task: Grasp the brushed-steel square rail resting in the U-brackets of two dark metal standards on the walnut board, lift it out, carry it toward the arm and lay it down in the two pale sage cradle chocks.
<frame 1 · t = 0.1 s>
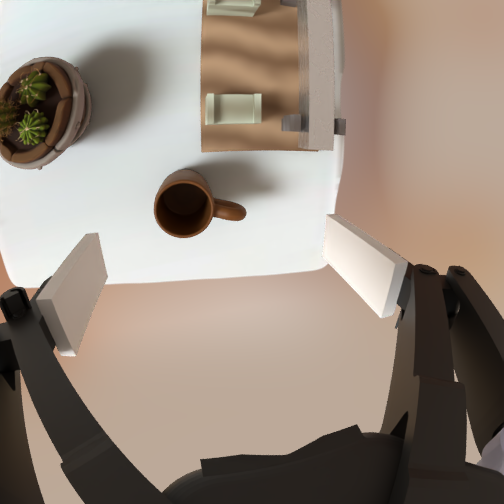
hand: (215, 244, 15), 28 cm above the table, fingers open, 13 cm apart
flowerpot: (62, 113, 31), on the table
rail: (310, 45, 27), point 9 cm above the table, touching rack
rack: (261, 57, 34), on the table
mug: (198, 194, 42), on the table
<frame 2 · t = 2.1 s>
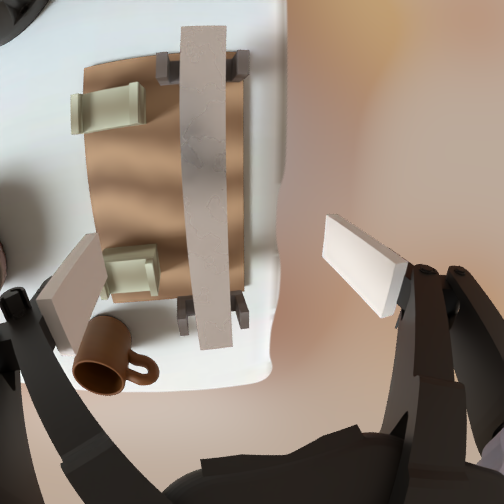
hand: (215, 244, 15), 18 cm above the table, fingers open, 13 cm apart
rail: (203, 198, 23), point 9 cm above the table, touching rack
rack: (164, 182, 30), on the table
mug: (122, 334, 38), on the table
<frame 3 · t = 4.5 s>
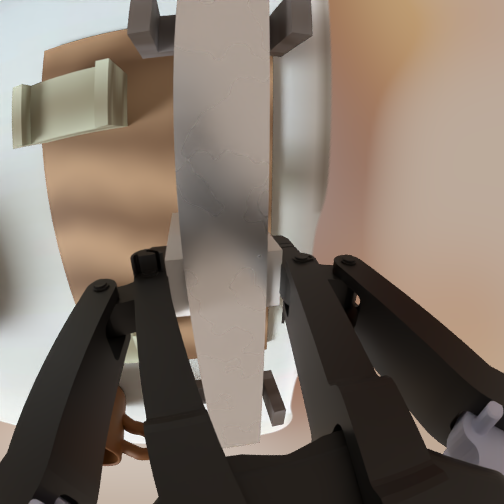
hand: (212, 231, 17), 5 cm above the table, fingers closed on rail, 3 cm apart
rail: (218, 256, 14), point 9 cm above the table, touching gripper, rack
rack: (156, 212, 21), on the table
mug: (114, 391, 29), on the table
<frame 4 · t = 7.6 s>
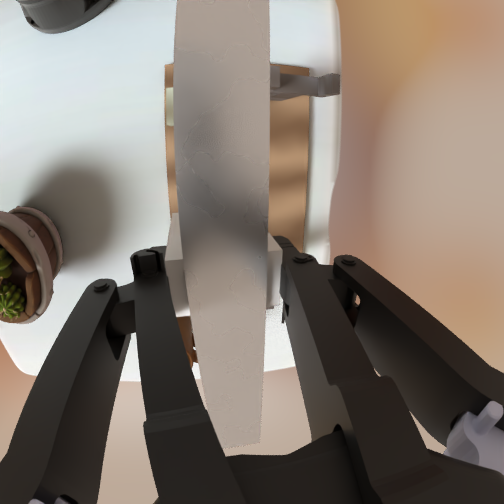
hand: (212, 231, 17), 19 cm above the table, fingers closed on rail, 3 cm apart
flowerpot: (35, 241, 32), on the table
rail: (218, 257, 14), point 23 cm above the table, touching gripper
rack: (238, 176, 35), on the table
mug: (180, 320, 43), on the table
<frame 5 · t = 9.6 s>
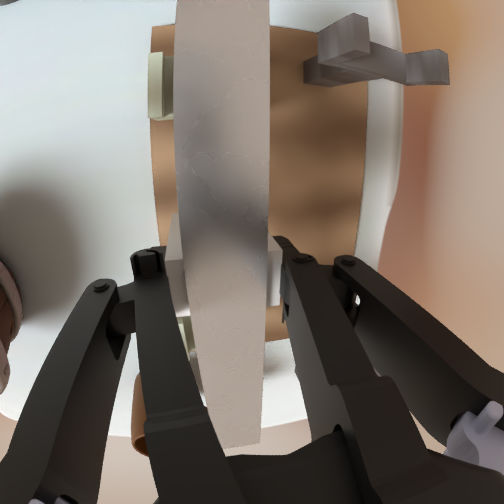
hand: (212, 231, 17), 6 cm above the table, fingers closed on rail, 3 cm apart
rail: (218, 257, 14), point 10 cm above the table, touching gripper
rack: (264, 199, 24), on the table
mug: (183, 382, 31), on the table
when the fingers open (3 cm above the table, at t = 11.0 s): rail drops 1 cm, resting on rack.
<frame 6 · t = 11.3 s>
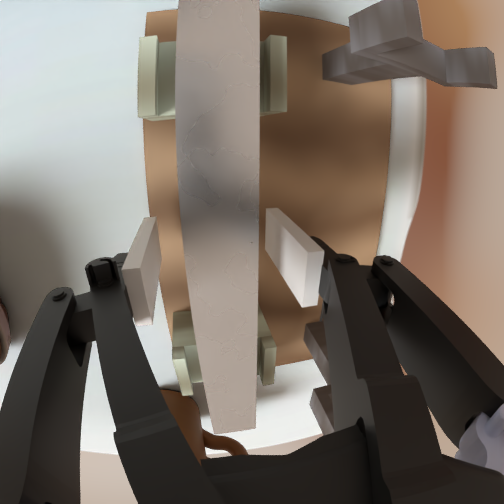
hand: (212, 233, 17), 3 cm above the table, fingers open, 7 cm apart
rail: (215, 245, 15), point 5 cm above the table, touching rack
rack: (277, 213, 21), on the table
mug: (185, 405, 28), on the table
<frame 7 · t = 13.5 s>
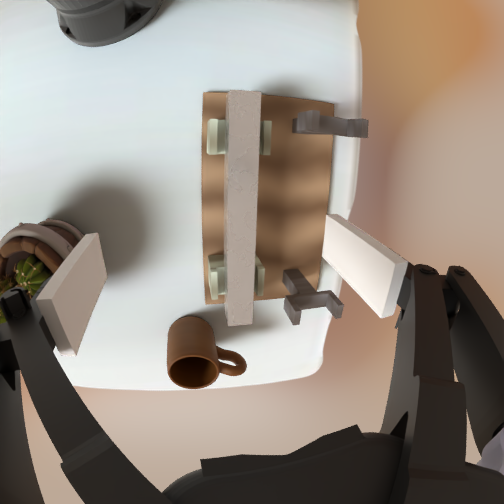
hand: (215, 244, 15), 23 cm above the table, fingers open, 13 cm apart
flowerpot: (63, 253, 35), on the table
rail: (237, 212, 33), point 5 cm above the table, touching rack
rack: (266, 203, 39), on the table
mug: (203, 333, 45), on the table
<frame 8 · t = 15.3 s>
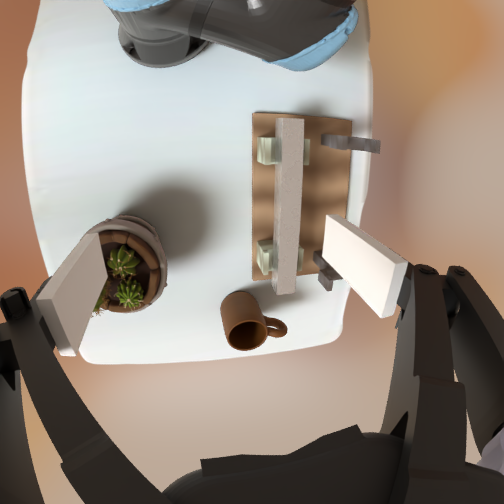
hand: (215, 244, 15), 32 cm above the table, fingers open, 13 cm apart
flowerpot: (130, 243, 46), on the table
rail: (283, 207, 44), point 5 cm above the table, touching rack
rack: (301, 199, 49), on the table
mug: (248, 306, 57), on the table
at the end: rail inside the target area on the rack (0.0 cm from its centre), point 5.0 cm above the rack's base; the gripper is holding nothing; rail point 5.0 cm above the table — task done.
